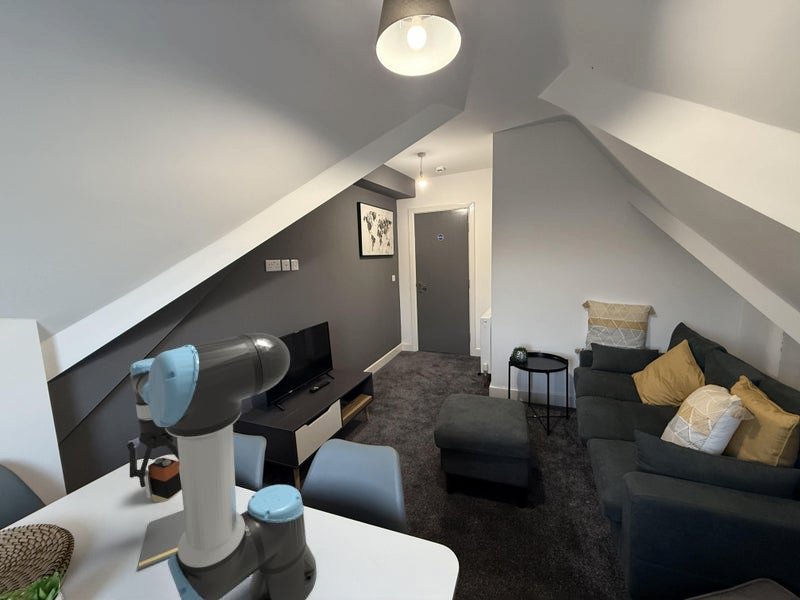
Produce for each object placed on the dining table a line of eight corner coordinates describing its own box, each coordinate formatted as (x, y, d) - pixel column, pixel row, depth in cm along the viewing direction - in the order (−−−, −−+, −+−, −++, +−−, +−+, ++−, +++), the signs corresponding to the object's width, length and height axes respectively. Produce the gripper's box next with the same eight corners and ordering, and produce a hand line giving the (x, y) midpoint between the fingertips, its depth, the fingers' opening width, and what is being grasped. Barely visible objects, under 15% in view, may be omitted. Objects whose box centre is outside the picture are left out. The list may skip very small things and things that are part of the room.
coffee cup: (189, 486, 115) (184, 454, 113) (166, 505, 106) (160, 472, 104) (167, 484, 117) (162, 453, 115) (142, 503, 108) (136, 470, 106)
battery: (168, 500, 89) (162, 467, 88) (151, 495, 92) (146, 462, 90) (183, 489, 93) (178, 457, 92) (167, 484, 96) (162, 453, 94)
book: (201, 545, 90) (200, 543, 90) (137, 571, 83) (137, 569, 83) (202, 504, 105) (202, 502, 105) (149, 523, 99) (149, 522, 98)
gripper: (198, 400, 98) (207, 469, 101) (111, 419, 88) (125, 495, 91) (197, 409, 91) (207, 483, 94) (103, 431, 81) (118, 513, 84)
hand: (167, 489), depth 92 cm, fingers closed on battery, 7 cm apart
